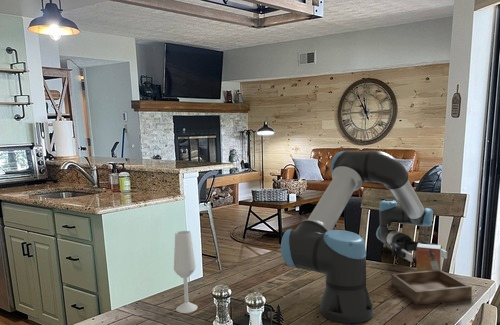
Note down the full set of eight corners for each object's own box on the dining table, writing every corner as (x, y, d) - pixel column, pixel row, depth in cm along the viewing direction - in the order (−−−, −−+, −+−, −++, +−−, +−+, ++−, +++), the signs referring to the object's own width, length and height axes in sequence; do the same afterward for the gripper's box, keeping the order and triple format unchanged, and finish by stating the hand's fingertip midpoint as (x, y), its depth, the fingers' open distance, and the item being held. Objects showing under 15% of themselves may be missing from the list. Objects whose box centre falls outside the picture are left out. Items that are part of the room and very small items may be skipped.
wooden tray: (416, 305, 120) (416, 292, 120) (391, 285, 136) (391, 273, 135) (471, 299, 122) (471, 286, 122) (440, 280, 138) (440, 269, 138)
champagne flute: (182, 302, 128) (178, 229, 127) (201, 304, 126) (197, 230, 125) (172, 311, 122) (167, 235, 120) (191, 314, 120) (187, 235, 118)
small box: (416, 275, 144) (415, 246, 143) (417, 270, 149) (417, 242, 148) (440, 278, 140) (440, 249, 140) (441, 273, 145) (441, 244, 145)
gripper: (427, 248, 168) (460, 263, 147) (371, 252, 165) (396, 269, 144) (427, 230, 168) (460, 244, 147) (371, 234, 164) (396, 249, 143)
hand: (429, 256), depth 145 cm, fingers open, 13 cm apart
